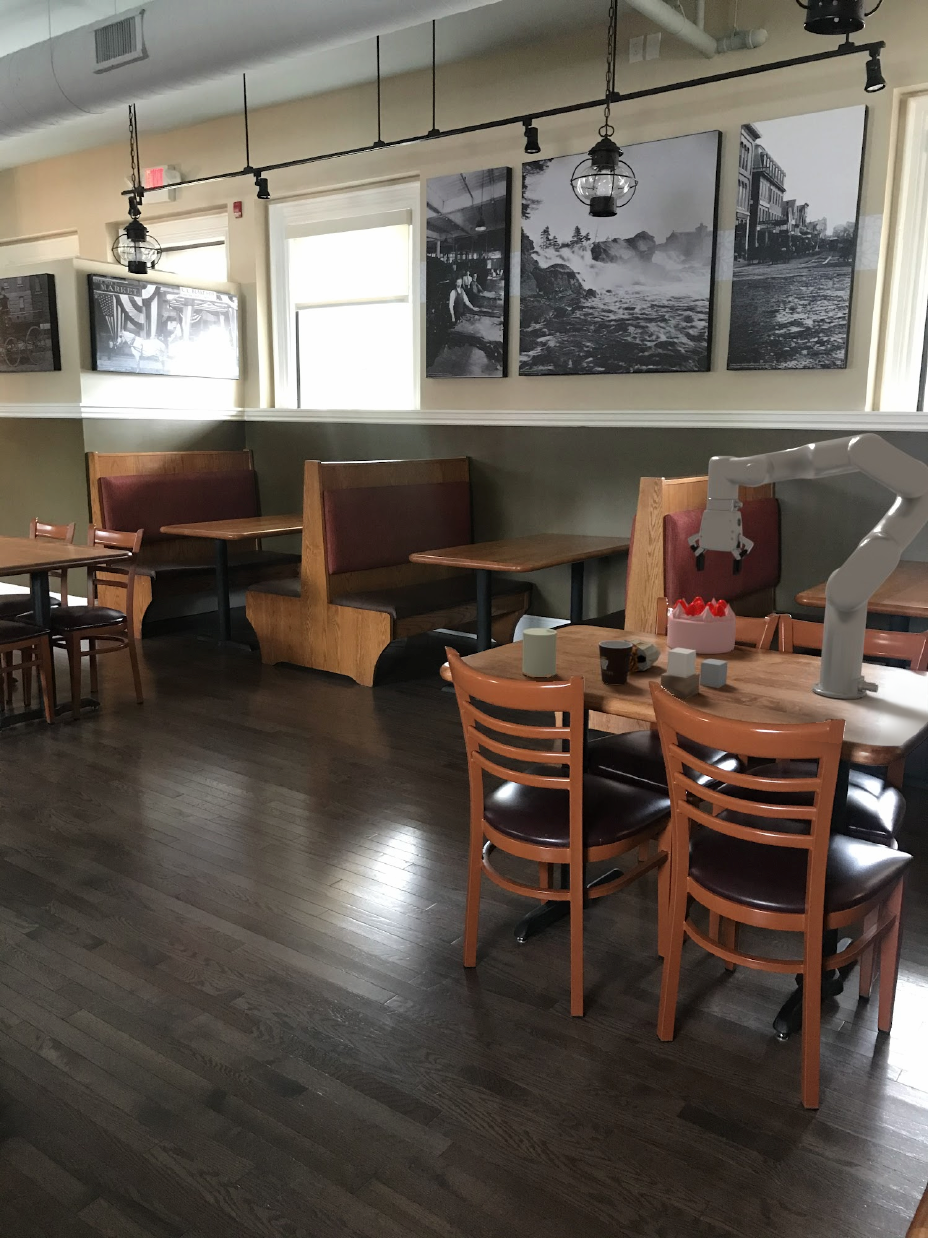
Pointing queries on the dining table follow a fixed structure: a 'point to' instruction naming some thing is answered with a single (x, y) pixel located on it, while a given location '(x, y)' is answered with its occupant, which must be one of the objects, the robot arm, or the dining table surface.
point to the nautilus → (643, 654)
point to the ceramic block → (681, 662)
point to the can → (539, 651)
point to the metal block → (681, 684)
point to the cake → (702, 626)
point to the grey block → (713, 673)
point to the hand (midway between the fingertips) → (718, 572)
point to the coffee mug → (615, 661)
